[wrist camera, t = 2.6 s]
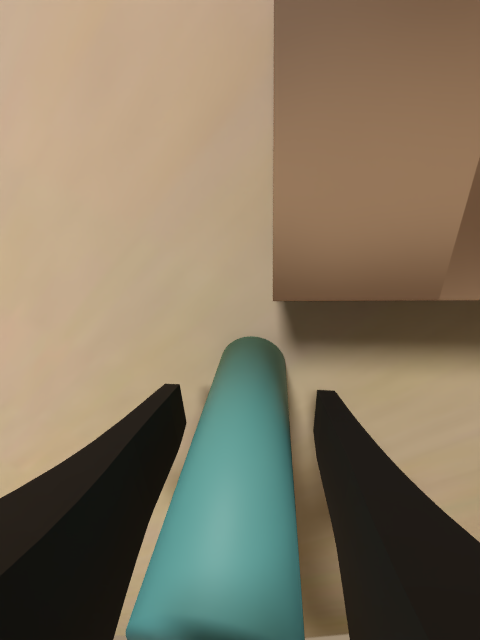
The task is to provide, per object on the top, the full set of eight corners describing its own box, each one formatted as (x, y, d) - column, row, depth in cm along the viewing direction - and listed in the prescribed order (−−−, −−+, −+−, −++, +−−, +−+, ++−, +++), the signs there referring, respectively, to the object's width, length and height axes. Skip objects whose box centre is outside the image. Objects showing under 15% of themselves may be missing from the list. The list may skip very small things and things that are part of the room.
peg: (284, 392, 13) (301, 702, 5) (223, 389, 13) (145, 671, 5) (286, 337, 12) (313, 635, 4) (218, 336, 12) (104, 600, 4)
